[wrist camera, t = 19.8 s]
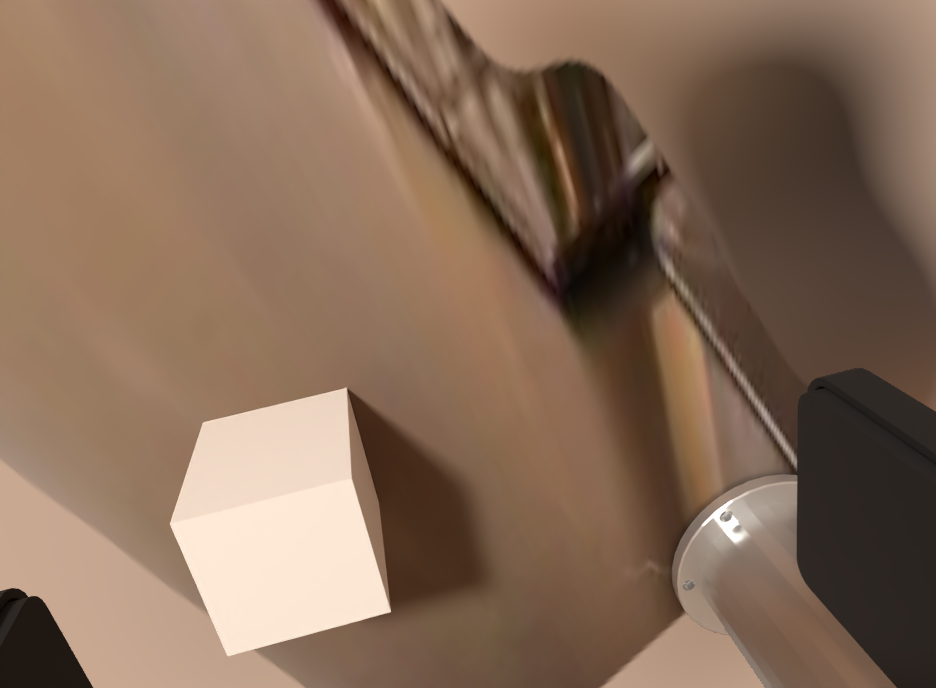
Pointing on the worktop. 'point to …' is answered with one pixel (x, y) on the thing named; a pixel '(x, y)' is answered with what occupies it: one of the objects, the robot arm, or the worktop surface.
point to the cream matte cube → (283, 523)
